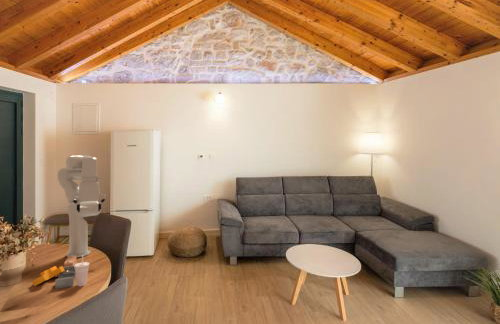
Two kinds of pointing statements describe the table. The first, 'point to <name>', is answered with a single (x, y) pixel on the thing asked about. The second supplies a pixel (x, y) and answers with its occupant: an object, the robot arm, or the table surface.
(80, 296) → the table surface
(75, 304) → the table surface
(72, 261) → the peach two-stud bar
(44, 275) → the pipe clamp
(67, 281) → the book ends
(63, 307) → the table surface
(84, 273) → the pink drink cup
